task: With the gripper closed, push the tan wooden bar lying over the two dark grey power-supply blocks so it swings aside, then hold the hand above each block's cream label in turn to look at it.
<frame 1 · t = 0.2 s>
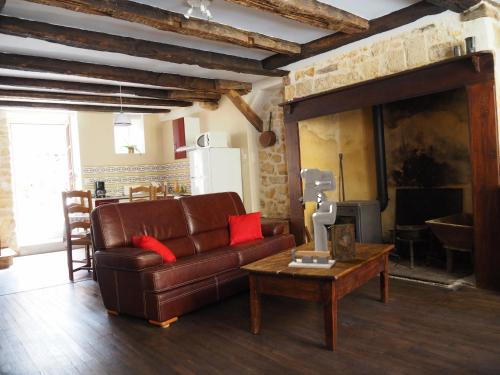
hand: (311, 209, 297), 36 cm above the table, tool pointing down, fingers open, 9 cm apart
tan wooden bar: (310, 253, 282), point 8 cm above the table, hinge at 0.0°
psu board: (312, 264, 282), on the table
book: (344, 260, 290), on the table
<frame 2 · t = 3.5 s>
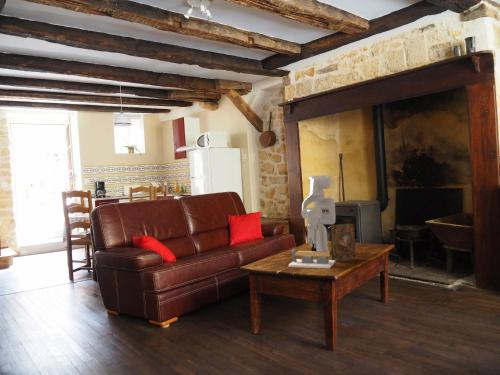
hand: (314, 253, 284), 7 cm above the table, tool pointing down, fingers closed
tan wooden bar: (310, 253, 282), point 8 cm above the table, hinge at 0.7°, touching gripper
everything else where it was.
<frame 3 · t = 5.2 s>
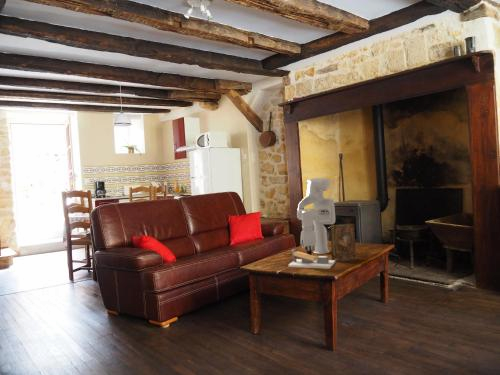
hand: (309, 256, 277), 7 cm above the table, tool pointing down, fingers closed
tan wooden bar: (303, 255, 277), point 8 cm above the table, hinge at 39.8°, touching gripper
everything else where it was.
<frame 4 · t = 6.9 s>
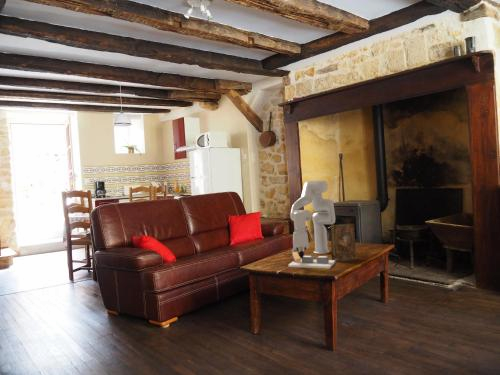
hand: (301, 257, 274), 7 cm above the table, tool pointing down, fingers closed
tan wooden bar: (296, 256, 275), point 8 cm above the table, hinge at 67.4°, touching gripper
everything else where it was.
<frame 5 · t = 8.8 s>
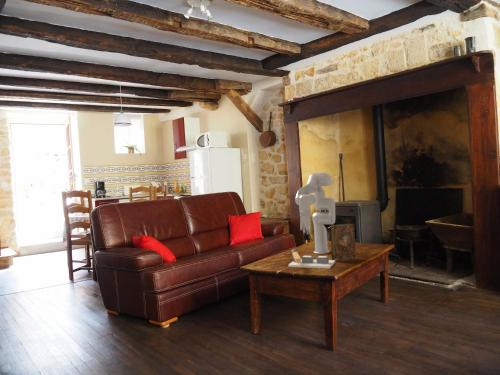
hand: (306, 240, 283), 17 cm above the table, tool pointing down, fingers closed
tan wooden bar: (296, 256, 275), point 8 cm above the table, hinge at 67.5°
everything else where it was.
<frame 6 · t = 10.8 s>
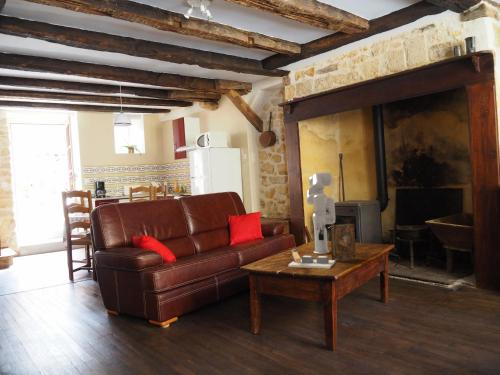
hand: (321, 239, 279), 17 cm above the table, tool pointing down, fingers closed
nothing on the table moved.
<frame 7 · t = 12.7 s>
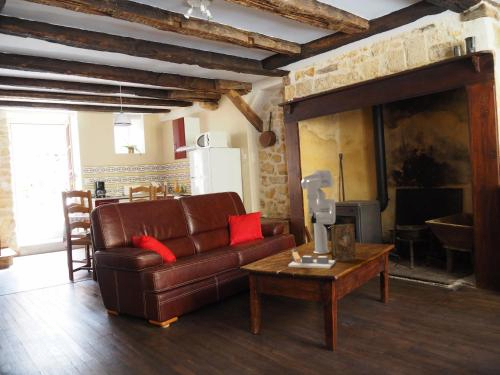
hand: (313, 223, 290), 27 cm above the table, tool pointing down, fingers closed
nothing on the table moved.
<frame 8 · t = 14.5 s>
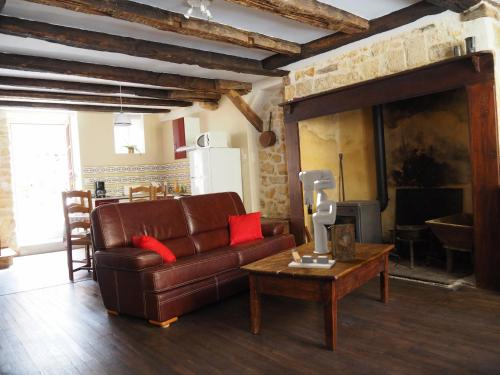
hand: (310, 214, 294), 33 cm above the table, tool pointing down, fingers closed
nothing on the table moved.
at the end: tan wooden bar at +68° (first picture: +0°) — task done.
